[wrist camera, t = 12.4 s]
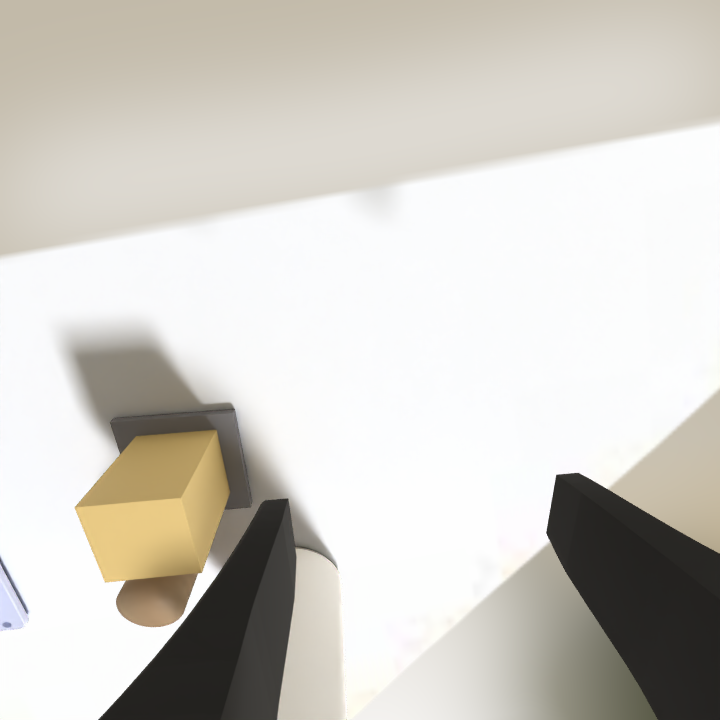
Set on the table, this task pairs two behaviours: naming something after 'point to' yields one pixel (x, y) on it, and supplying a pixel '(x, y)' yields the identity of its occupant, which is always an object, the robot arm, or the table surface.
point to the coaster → (193, 422)
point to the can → (315, 644)
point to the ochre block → (157, 506)
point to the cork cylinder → (155, 599)
